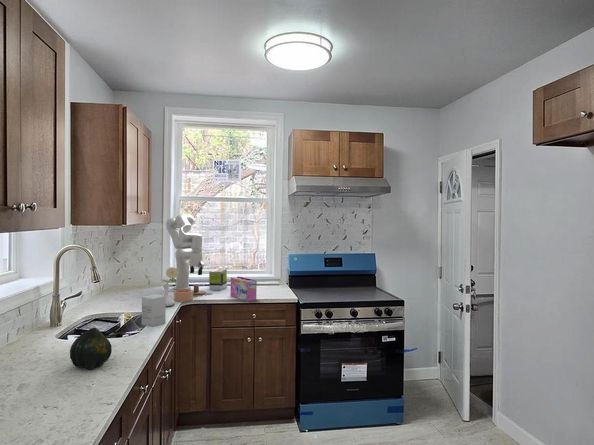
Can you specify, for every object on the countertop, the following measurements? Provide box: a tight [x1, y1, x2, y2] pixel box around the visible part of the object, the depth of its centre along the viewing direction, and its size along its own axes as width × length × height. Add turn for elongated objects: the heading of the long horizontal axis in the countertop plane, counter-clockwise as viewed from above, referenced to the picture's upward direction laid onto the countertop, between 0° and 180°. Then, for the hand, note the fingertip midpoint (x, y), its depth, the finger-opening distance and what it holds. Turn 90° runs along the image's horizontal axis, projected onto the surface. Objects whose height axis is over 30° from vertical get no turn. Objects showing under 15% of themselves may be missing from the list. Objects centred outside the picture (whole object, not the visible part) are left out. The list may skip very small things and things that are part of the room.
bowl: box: [173, 288, 194, 302], centre depth 283 cm, size 12×12×6 cm
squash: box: [69, 327, 113, 370], centre depth 161 cm, size 14×15×15 cm
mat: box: [193, 291, 213, 298], centre depth 302 cm, size 17×17×1 cm
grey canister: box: [141, 294, 166, 328], centre depth 221 cm, size 9×9×15 cm
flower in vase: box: [162, 266, 178, 307], centre depth 264 cm, size 13×11×25 cm
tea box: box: [208, 268, 228, 291], centre depth 326 cm, size 15×10×15 cm, turn 172°
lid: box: [192, 284, 207, 295], centre depth 302 cm, size 14×14×6 cm
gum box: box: [230, 276, 258, 302], centre depth 293 cm, size 24×8×14 cm, turn 41°
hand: (196, 273), depth 302 cm, fingers open, 9 cm apart
